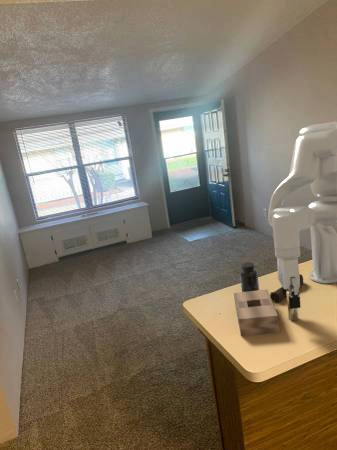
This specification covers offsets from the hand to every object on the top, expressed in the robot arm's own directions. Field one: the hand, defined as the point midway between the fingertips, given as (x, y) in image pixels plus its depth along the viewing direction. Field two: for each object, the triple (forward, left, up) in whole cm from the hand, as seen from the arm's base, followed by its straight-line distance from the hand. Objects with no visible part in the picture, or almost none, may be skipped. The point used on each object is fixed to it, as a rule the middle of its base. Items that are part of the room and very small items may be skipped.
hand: (291, 300), depth 108 cm
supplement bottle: (+11, -23, -7) cm, 26 cm away
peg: (0, -1, -7) cm, 7 cm away
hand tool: (-3, -20, -8) cm, 21 cm away
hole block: (+12, -3, -7) cm, 14 cm away
